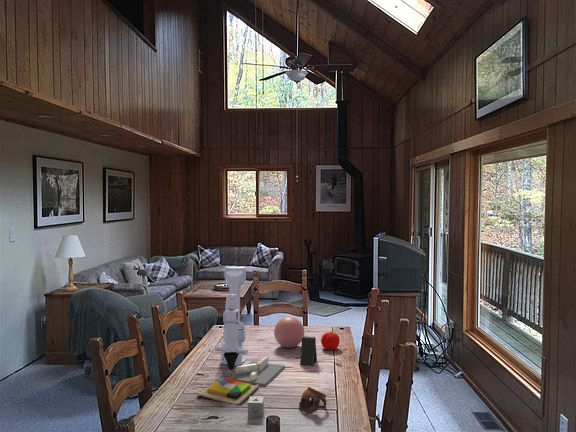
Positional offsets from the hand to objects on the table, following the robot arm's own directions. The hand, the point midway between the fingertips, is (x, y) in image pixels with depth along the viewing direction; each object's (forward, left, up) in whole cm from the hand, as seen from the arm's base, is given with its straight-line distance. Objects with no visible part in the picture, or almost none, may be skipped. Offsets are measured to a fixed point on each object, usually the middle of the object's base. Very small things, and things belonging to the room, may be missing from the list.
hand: (231, 369), depth 193 cm
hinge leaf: (+7, +2, -1) cm, 7 cm away
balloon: (+9, +46, -3) cm, 47 cm away
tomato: (+30, +49, -3) cm, 58 cm away
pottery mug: (+42, -18, -3) cm, 46 cm away
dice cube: (+25, -28, -3) cm, 38 cm away
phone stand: (+26, +26, -3) cm, 37 cm away
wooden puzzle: (+7, -16, -3) cm, 18 cm away
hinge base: (+10, +5, -2) cm, 12 cm away
